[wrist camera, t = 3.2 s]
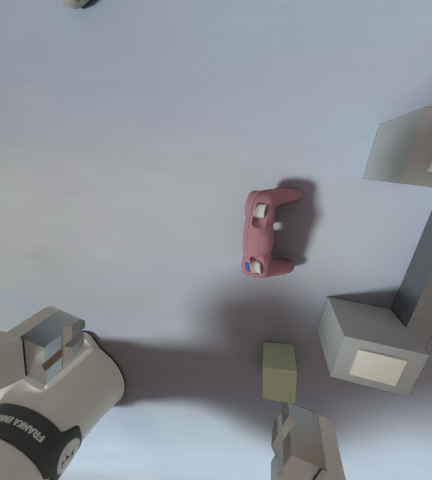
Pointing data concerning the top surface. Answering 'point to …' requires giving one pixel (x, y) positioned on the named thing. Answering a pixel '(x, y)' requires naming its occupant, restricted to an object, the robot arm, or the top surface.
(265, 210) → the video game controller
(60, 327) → the robot arm
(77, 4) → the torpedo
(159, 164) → the top surface
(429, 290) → the rail bar
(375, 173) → the mounted modules
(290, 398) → the block
